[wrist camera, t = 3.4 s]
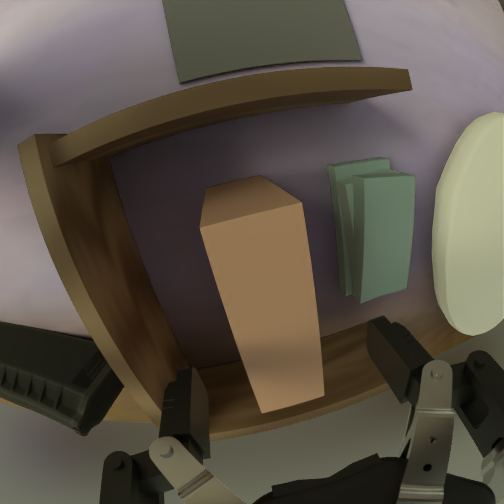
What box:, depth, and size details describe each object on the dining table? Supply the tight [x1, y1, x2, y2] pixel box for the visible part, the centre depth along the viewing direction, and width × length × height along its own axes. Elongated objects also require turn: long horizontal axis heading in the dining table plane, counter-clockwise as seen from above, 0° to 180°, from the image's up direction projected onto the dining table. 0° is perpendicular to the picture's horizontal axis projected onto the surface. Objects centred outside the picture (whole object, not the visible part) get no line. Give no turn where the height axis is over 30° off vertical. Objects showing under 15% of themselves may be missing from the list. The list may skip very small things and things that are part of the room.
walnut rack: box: [18, 67, 412, 441], centre depth 18 cm, size 24×20×9 cm
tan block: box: [200, 175, 324, 413], centre depth 17 cm, size 12×4×10 cm, turn 13°
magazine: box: [0, 322, 124, 436], centre depth 17 cm, size 17×3×30 cm
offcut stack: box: [327, 157, 415, 304], centre depth 20 cm, size 11×5×5 cm, turn 12°
